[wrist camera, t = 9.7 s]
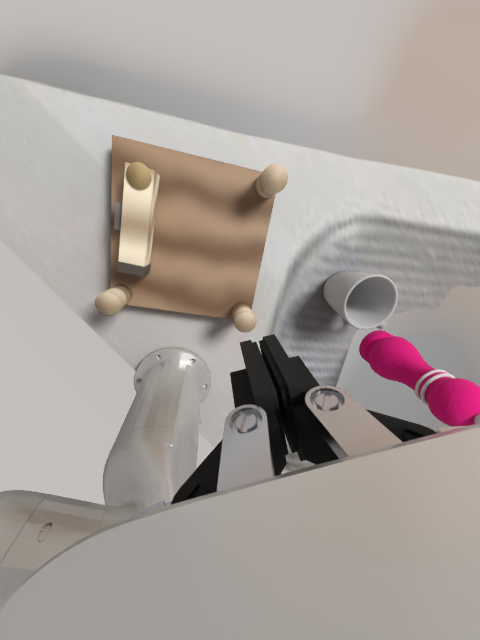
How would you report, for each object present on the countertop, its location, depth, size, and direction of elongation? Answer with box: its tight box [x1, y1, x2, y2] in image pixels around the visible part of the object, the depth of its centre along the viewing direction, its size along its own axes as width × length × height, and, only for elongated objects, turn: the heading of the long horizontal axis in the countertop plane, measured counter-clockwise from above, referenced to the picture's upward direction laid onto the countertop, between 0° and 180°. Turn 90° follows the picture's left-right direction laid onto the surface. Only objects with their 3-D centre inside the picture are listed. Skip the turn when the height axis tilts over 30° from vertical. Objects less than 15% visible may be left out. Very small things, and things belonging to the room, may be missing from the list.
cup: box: [323, 272, 398, 329], centre depth 36 cm, size 8×10×8 cm
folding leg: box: [117, 162, 160, 277], centre depth 29 cm, size 12×3×3 cm, turn 167°
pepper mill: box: [359, 330, 480, 427], centre depth 35 cm, size 7×7×20 cm
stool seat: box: [95, 135, 288, 332], centre depth 31 cm, size 20×20×8 cm
